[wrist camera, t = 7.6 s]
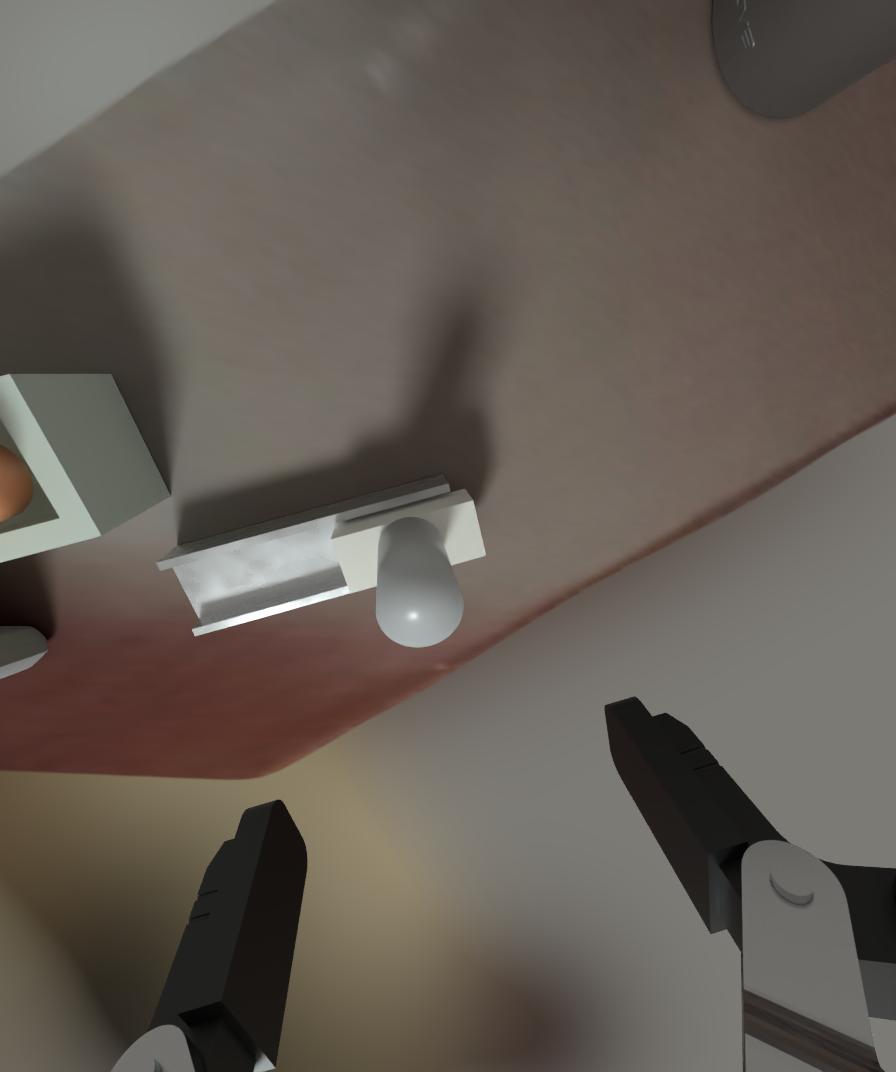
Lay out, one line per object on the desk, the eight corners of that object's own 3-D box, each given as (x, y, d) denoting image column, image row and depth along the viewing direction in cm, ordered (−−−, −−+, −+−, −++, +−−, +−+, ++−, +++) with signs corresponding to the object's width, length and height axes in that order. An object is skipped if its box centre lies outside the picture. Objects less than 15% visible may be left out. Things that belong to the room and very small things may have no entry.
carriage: (464, 486, 27) (505, 544, 18) (477, 540, 28) (521, 619, 19) (334, 522, 27) (309, 599, 18) (353, 575, 28) (339, 671, 19)
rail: (442, 473, 28) (448, 483, 26) (460, 544, 30) (467, 560, 28) (177, 545, 28) (156, 562, 25) (211, 613, 29) (195, 636, 27)
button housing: (110, 373, 24) (9, 373, 17) (170, 495, 27) (101, 535, 20) (-21, 406, 24) (-174, 419, 17) (52, 527, 26) (-57, 577, 20)
